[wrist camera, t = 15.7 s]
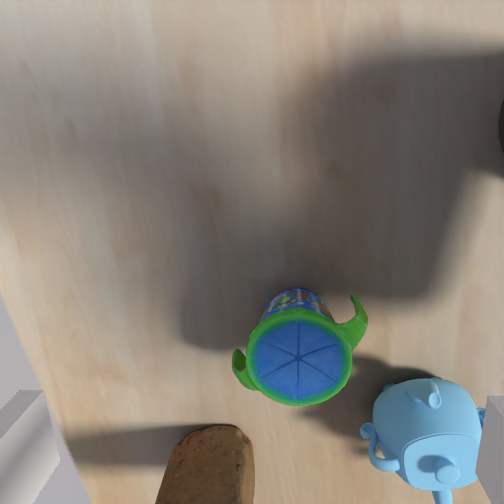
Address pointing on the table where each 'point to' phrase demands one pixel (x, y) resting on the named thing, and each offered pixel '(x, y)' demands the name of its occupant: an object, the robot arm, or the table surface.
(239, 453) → the block
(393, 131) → the table surface
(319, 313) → the snack cup
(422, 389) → the teapot
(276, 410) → the table surface
